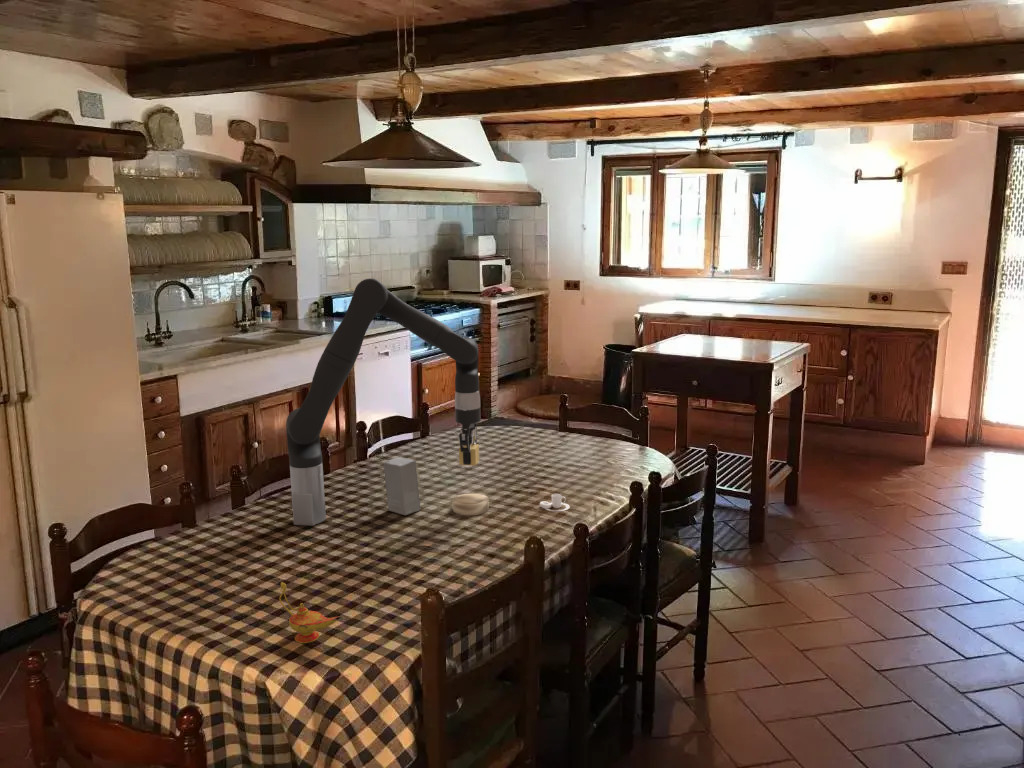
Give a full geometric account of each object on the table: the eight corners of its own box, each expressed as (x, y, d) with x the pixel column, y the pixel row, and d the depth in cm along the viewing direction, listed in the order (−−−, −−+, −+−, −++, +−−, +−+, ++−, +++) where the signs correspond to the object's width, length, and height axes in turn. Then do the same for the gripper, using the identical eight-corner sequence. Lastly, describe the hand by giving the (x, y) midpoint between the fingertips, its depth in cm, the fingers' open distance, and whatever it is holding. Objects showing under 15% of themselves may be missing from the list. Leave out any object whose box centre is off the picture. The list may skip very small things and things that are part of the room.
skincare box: (421, 510, 247) (419, 460, 244) (402, 517, 242) (400, 465, 239) (403, 504, 253) (401, 455, 250) (384, 510, 248) (382, 460, 244)
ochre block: (475, 465, 242) (475, 449, 241) (459, 464, 243) (458, 448, 242) (479, 460, 247) (478, 444, 246) (463, 460, 248) (462, 444, 247)
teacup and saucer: (536, 510, 247) (536, 497, 247) (548, 502, 254) (547, 489, 253) (562, 514, 243) (562, 501, 242) (573, 506, 250) (573, 493, 249)
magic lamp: (334, 657, 165) (331, 606, 163) (269, 635, 174) (266, 587, 172) (356, 641, 171) (353, 592, 168) (293, 622, 180) (289, 575, 177)
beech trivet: (484, 516, 242) (484, 505, 241) (448, 514, 243) (448, 504, 243) (491, 503, 252) (491, 493, 252) (457, 502, 254) (456, 492, 253)
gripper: (460, 400, 249) (462, 454, 252) (449, 411, 235) (451, 468, 239) (484, 400, 248) (486, 455, 251) (475, 411, 234) (476, 469, 237)
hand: (469, 461), depth 245 cm, fingers closed on ochre block, 5 cm apart
